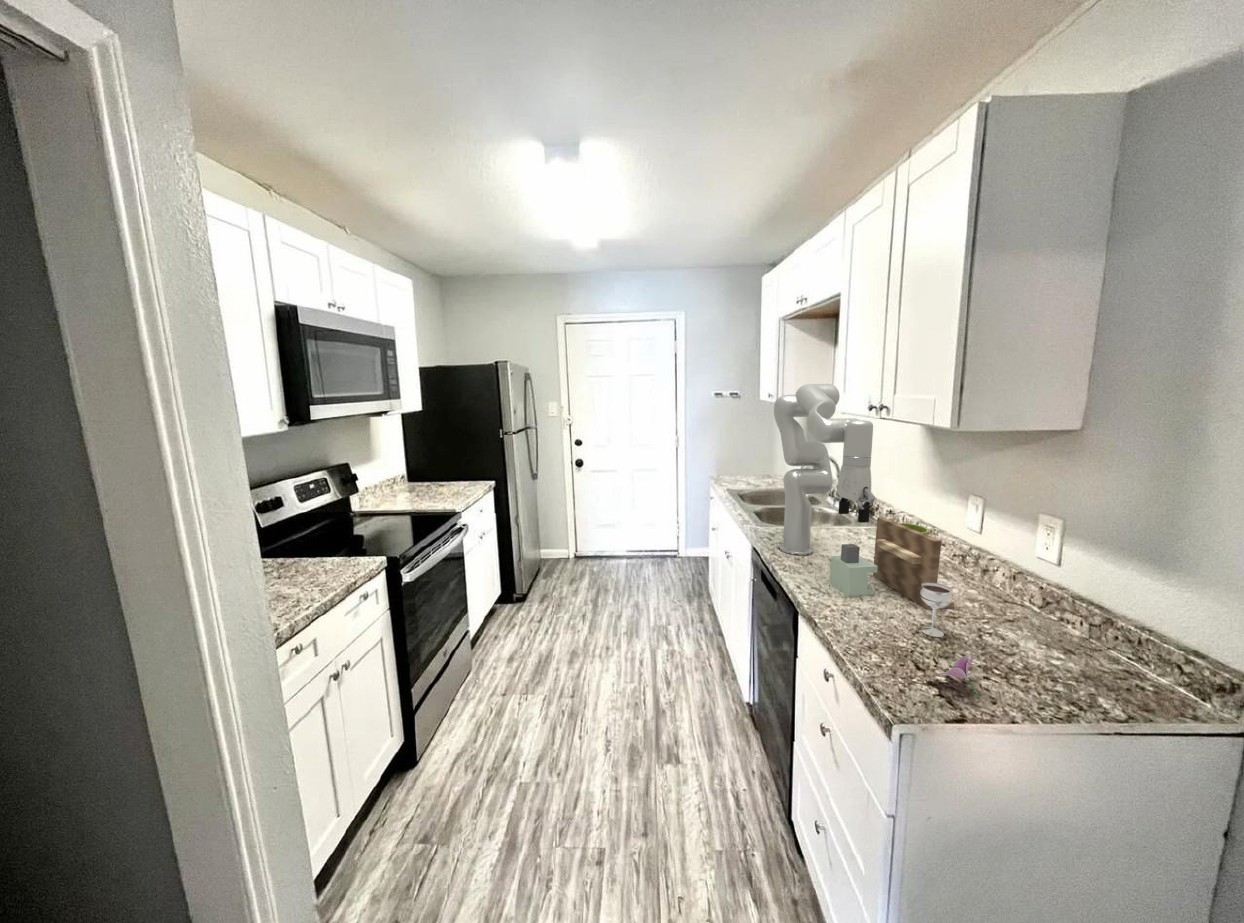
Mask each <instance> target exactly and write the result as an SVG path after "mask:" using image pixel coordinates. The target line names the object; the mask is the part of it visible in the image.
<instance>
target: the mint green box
mask: <svg viewBox="0 0 1244 923" xmlns="http://www.w3.org/2000/svg"><path fill="white" fill-rule="evenodd" d="M860 548H861V547H860V546H859V545H856V544H855V543H844V544H841V548H840V549H841V550H840V555H831V556H830V570H829V571H830V572H829V584H831V585H832V586H834V587H835V588H836V589H838V590H839V591H840V592H841V591H842V594H844V595H846V596H847V597H859V595H862V596H875V595H876V592H877V591H876V589H875V588H874V587H872V586H870V585H869V584H868V582H869V574H873V573H877V568H878V566H876V565H874V562H871V561H869V560H868V559H866V558H864V557H862V556H861V555H860Z"/></svg>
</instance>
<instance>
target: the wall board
mask: <svg viewBox="0 0 1244 923" xmlns="http://www.w3.org/2000/svg"><path fill="white" fill-rule="evenodd" d="M876 520H877V521H876V531H875V544H874V556H873V564H874V565H876V566H878V568H877V573H872V577H874V578H876V579H877V580H878V581H880V582H881V583H884V584H885V585H887V586H889V587H890V588H892V589H893V588H894V589H893V590H895V589H896V590H895V591H896V592H898V591H899V593H900V594H901V595H904V596H905V597H906V598H909V599H910V600H912V601H913V602H914V603H916V604H918V605H920V606H921V607H922V608H924V609H927V610H933V609H932V608H931V606H929V605H927V604H926V603H925V602H924V601H923V600H922V599H921V596H920V590H921V589H922V586H921V584H922V583H924V582H934V583H938V579H939V577H938V576H939V569H940V568H939V567H940V559H941V548H942V540H940V539H938V538H935V537H933V536H930V535H928V534H926V535H925V534H923V533H921V532H918V531H916V530H913V529H911V528H908V527H906V526H903V525H901V524H898V523H899V522H895V521H894V520H891V519H888V518H886V517H883V516H882V517H880V516H879V517H877V519H876ZM954 608H955V602H953V600H952V601H951V603H950V604H949V605H948V606H946V607H944V608H938V609H937V610H940V609H941V610H943V609H954Z"/></svg>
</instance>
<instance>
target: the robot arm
mask: <svg viewBox="0 0 1244 923" xmlns="http://www.w3.org/2000/svg"><path fill="white" fill-rule="evenodd" d="M840 398H841V397H840V390H839V389H838V388H837V386H835V385H834V384H831V383H808V384H803V385H802V386H800V387H799V388H798V389H797V390H796V392H795V394H786V395H781V396H779V397H778V398H777V399H776V400H775V402H774V404H773V405H774V406H773V415H774V416H773V417H774V420H775V422H776V425H777V427H778V429H779V434H780V439H781V447H782V452H783V458H784V462H785V463H786V464H787V465H788V466H791V467H812V468H793V469H790V470H788V471H786V472H785V474H784V476H783V488H784V518H783V519H784V520H783V535H782V536H781V537H782V538H783V542H781V543H780V544H779V545H778V549H779V548H780V549H779V550H780V551H781V550H782V551H781V552H782V553H785V552H786V553H785V554H788V553H793V554H799V555H798V556H808V555H807V554H809V555H812V554H813V553H814V551H815V549H814V547H813V546H811V527H812V510H813V509H812V503H811V501H810V500H809V499H808V497H807V495H819V494H827V493H830V492H831V490H832V488H833V483H834V482H833V481H834V480H833V473H832V467H831V462H830V456H829V451H828V449H827V447H826V445H825V444H833V443H835V444H837V443H838V444H839V443H842V444H843V449H842V451H843V452H842V464H841V467H840V471H839V476H838V484H836V491H837V494H836V495H837V496H838V499H837V500H838V514H839V515H849V514H850V505H851V504H850V502H853V503H855V502H857V505H858V506H859V508H858V512H857V523H859V524H860V523H862V524H863V523H869V522H870V510H872V507H873V506H874V502H875V500H876V496H875V495H874V494H873V493H872V469H871V467H872V466H871V465H872V449H873V438H874V437H873V434H874V423H873V422H872V421H871V420H870V421H869V420H864V419H863V420H861V419H858V418H851V417H850V418H845V417H844V418H842V417H840V418H839V417H838V418H833V415H834V414H835V412H836V409H837V407H836V406H837V405H838V403H839V401H840ZM806 417H807V418H806ZM795 418H806V423H807V424H806V425H807V429H808V431H809V433H810V434H811V435H812V436H813V437H814V438H815V439H816V441H815V440H811V441H810V440H807V439H806V438H805V437H806V436H805V432H804V429H803V427H802V426H801V424H800V423H799V422H798V421H797V420H796V419H795ZM811 553H812V554H811ZM793 554H792V555H793Z"/></svg>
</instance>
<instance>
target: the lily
mask: <svg viewBox="0 0 1244 923" xmlns="http://www.w3.org/2000/svg"><path fill="white" fill-rule="evenodd" d="M984 652H985V650H983V651H981V652H979V653H977V654H971V655H970V654H966V655H964V656H962V657H960V658H959V659H958V660H954V661H955V662H954V661H953V659H949V660H947V662H948V663H951V664H952V667H951V668H949V670H946V671H945V672H941V673H937V674H935V675H934V676H932V677H931V678H929V679H928V680H927V681H926V683H928V682H929V681H931V680H932V679H934V678H936V677H938V676H940V677H941V676H943V675H945V676H951V677H956V678H961V679H965V680H966V681H967V682H968V683H969V684H970V686H971V688H972V690H973V692H974V694H975V695H976V698H977V699H978V698H979V699H980V696H979V694H978V692H977V690H976V689H975V687H974V685H973V684H972V682H971V680H970V679H969V677H968V676H969V667H970V664H971V662H972V661H973V660H974V659H975V658H976V657H978V656H979V655H981V654H982V653H984Z"/></svg>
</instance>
